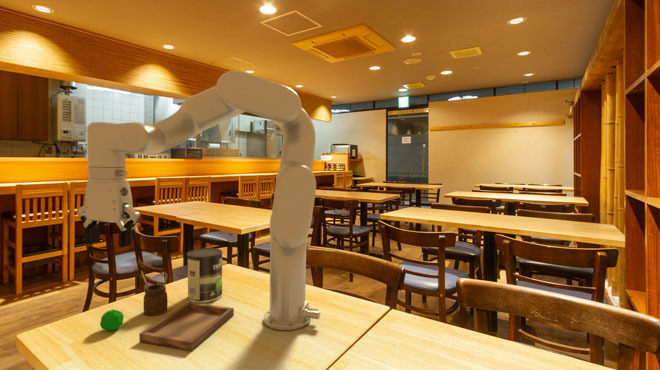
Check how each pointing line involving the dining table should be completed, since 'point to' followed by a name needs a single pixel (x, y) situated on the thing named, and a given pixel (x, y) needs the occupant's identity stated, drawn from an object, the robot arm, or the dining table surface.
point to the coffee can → (204, 275)
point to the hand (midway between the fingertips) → (108, 244)
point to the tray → (187, 326)
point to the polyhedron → (111, 320)
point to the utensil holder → (155, 298)
